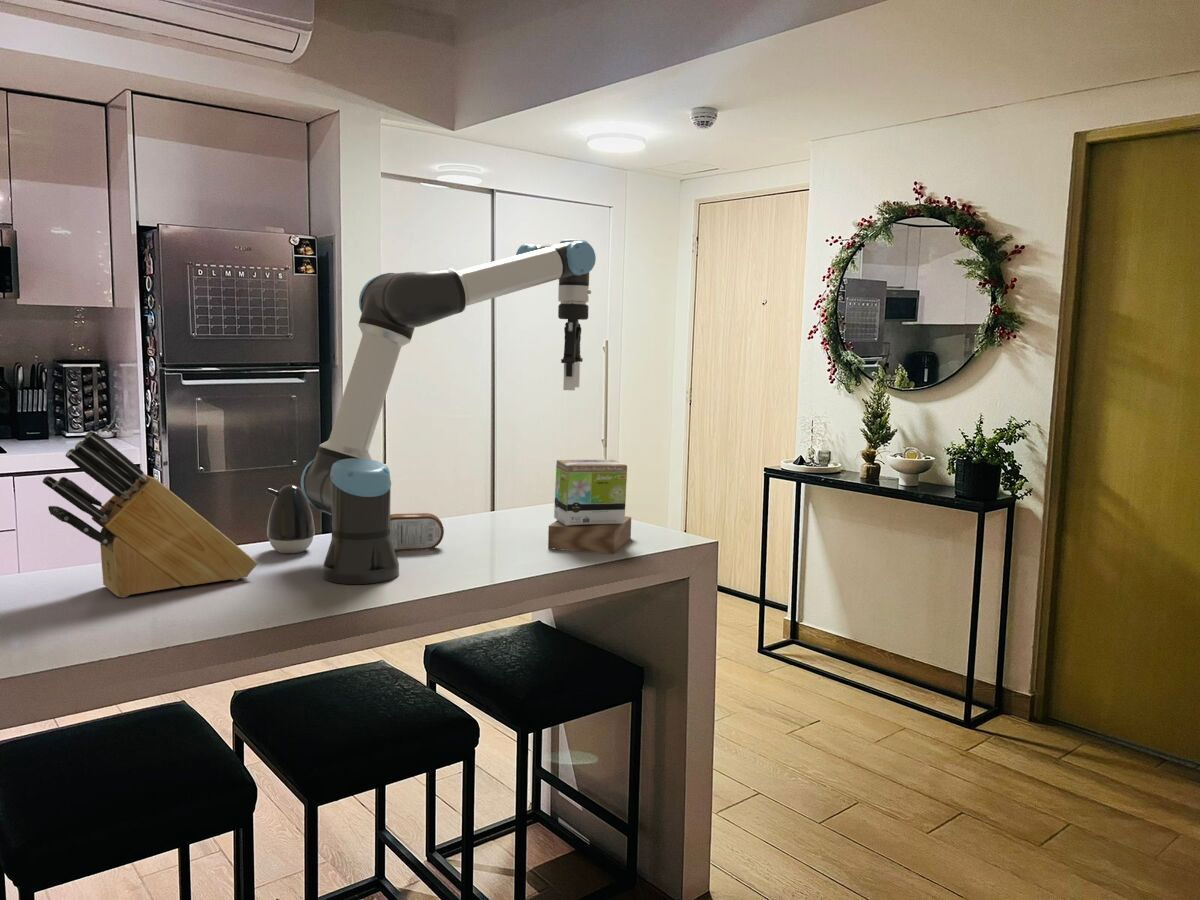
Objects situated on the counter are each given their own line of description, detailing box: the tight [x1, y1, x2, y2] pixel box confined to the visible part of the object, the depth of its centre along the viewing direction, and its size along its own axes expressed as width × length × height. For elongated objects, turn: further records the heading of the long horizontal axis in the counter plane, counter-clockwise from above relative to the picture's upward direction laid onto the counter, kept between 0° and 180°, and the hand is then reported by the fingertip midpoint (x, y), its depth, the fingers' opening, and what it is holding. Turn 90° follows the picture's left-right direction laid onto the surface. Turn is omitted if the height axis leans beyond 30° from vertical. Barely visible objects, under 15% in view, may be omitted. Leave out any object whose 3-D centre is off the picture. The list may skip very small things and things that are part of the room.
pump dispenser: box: [265, 484, 316, 554], centre depth 209 cm, size 10×10×15 cm
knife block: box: [42, 430, 258, 598], centre depth 177 cm, size 11×35×31 cm, turn 130°
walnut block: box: [547, 516, 632, 555], centre depth 226 cm, size 16×18×6 cm
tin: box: [390, 512, 445, 552], centre depth 214 cm, size 15×3×8 cm, turn 108°
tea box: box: [553, 459, 628, 526], centre depth 224 cm, size 15×10×15 cm
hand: (571, 388), depth 234 cm, fingers open, 13 cm apart
